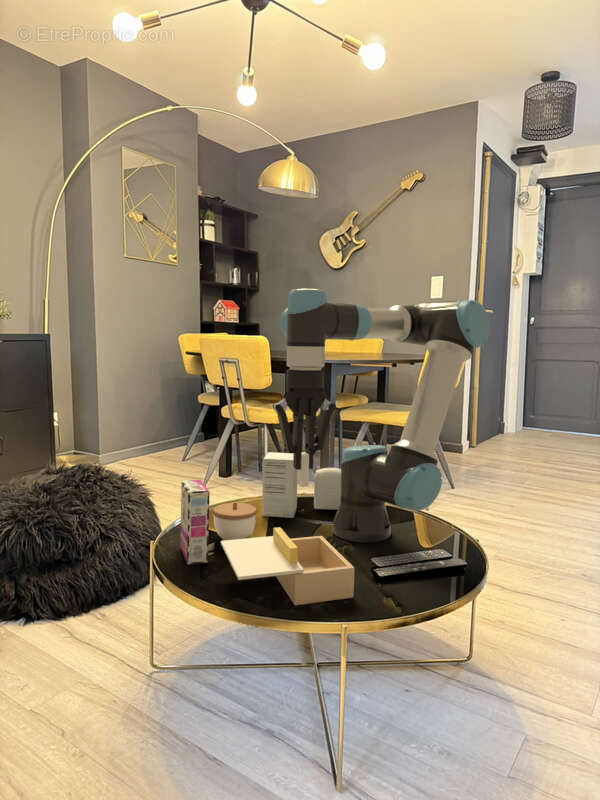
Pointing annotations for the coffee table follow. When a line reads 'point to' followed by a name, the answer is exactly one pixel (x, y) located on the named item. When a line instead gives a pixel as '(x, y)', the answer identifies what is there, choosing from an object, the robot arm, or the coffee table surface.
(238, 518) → the lidded jar
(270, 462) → the supplement box
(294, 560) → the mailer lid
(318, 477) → the photo printer
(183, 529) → the candy bar box
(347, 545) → the coffee table surface
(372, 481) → the robot arm
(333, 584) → the mailer box
